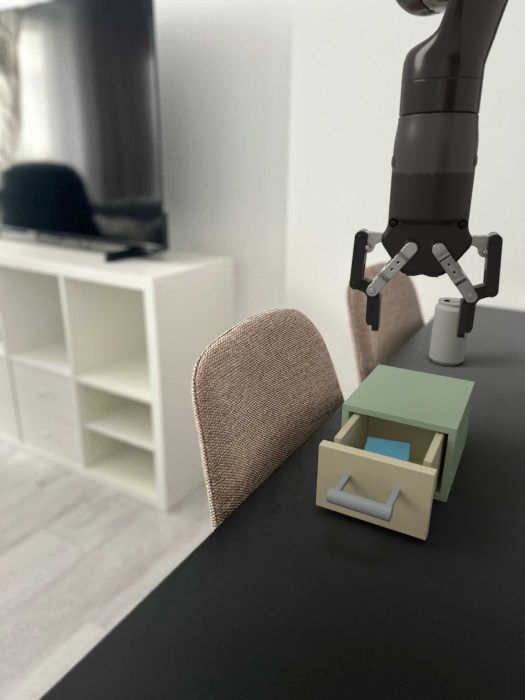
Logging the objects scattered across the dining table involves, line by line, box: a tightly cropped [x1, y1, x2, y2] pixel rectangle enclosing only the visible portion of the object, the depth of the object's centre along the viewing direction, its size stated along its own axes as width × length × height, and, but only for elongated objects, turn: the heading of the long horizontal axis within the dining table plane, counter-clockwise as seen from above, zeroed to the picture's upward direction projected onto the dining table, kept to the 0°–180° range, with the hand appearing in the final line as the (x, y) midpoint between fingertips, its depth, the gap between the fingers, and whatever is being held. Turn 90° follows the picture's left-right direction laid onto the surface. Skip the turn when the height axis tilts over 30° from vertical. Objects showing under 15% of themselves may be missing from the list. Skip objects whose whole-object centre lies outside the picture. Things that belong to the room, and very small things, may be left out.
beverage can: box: [428, 296, 469, 367], centre depth 97 cm, size 6×6×12 cm
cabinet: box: [340, 364, 476, 503], centre depth 64 cm, size 15×13×9 cm
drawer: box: [315, 413, 448, 541], centre depth 54 cm, size 18×11×7 cm, turn 152°
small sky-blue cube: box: [364, 437, 410, 462], centre depth 55 cm, size 5×5×5 cm
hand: (416, 332), depth 54 cm, fingers open, 8 cm apart
